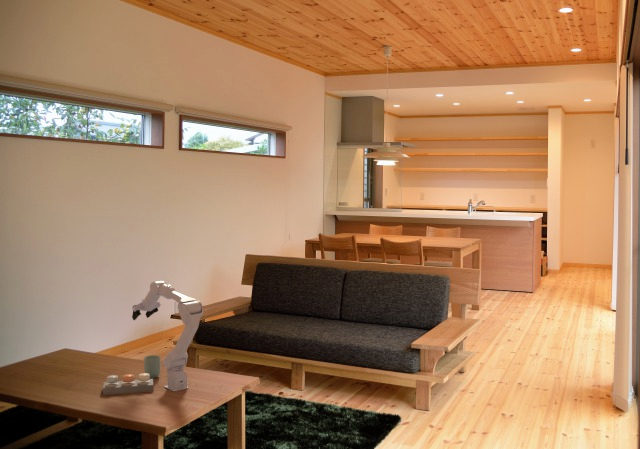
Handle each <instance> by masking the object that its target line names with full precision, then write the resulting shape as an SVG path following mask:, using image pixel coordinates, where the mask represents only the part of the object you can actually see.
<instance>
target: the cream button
mask: <svg viewBox="0 0 640 449" xmlns="http://www.w3.org/2000/svg"><path fill="white" fill-rule="evenodd" d="M150 379H151V378H150V374H148V373H145V372H144V373H139V374H138V380H139V381H148V380H150Z"/></svg>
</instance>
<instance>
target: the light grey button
mask: <svg viewBox="0 0 640 449" xmlns="http://www.w3.org/2000/svg"><path fill="white" fill-rule="evenodd" d="M118 381H119V375H114V374H112V375H108V376H107V377H106V382H107V383H110V384H112V383H117V382H118Z"/></svg>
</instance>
